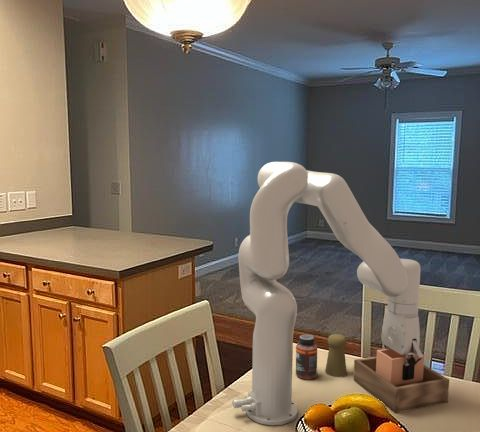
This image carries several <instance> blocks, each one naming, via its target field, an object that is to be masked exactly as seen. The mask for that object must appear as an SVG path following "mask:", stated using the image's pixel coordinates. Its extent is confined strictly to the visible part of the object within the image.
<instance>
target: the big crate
mask: <svg viewBox="0 0 480 432" xmlns="http://www.w3.org/2000/svg"><path fill="white" fill-rule="evenodd" d="M376 358H377V355H376V356H371V357H370V356H369V357H364V358H357V359H354V362H353V363H354V364H353V381H354V382H355V383H356V384H357V385H358V386H360V387H361V388H362V389H364V390H365V391H366V392H368V394H369V395H371V396H372V397H374V398H375V399H376V398H377V399H376V400H378V399H379V400H380V401H382V402H383V403H384V404H385V405H384V404H383V403H382V404H383V405H384V406H385V407H386V408H388V409H389V410H390V411H392V412H393V413H394V414H397V413H402V412H406V411H412V410H416V409H423V408H427V407H432V406H437V405H443V404H447V403H448V402H449V389H450V379H448V378H447V377H445V376H443V375H442V374H440V373H439V372H437V371H435V370H434V369H431V368H430V367H428V366H427V365H426V364H424V371H423V381H418V382H412V383H406V384H401V385H393V384H392V383H390V382H389V381H388V380H386V379H385V378H383V377H382V376H381V375H379V374H378V373H376ZM379 400H378V401H379ZM380 401H379V402H380Z"/></svg>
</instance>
